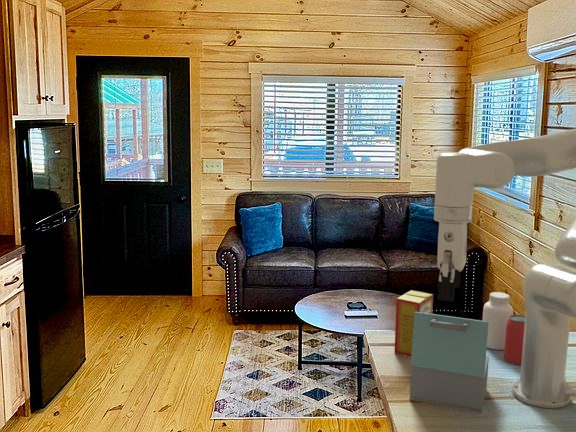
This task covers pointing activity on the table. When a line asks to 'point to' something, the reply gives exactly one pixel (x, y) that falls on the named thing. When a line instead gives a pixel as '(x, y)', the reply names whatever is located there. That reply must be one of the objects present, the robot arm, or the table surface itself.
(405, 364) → the table surface
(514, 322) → the beer can
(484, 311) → the pill bottle
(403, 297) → the baking soda box
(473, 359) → the lid
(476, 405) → the carton
